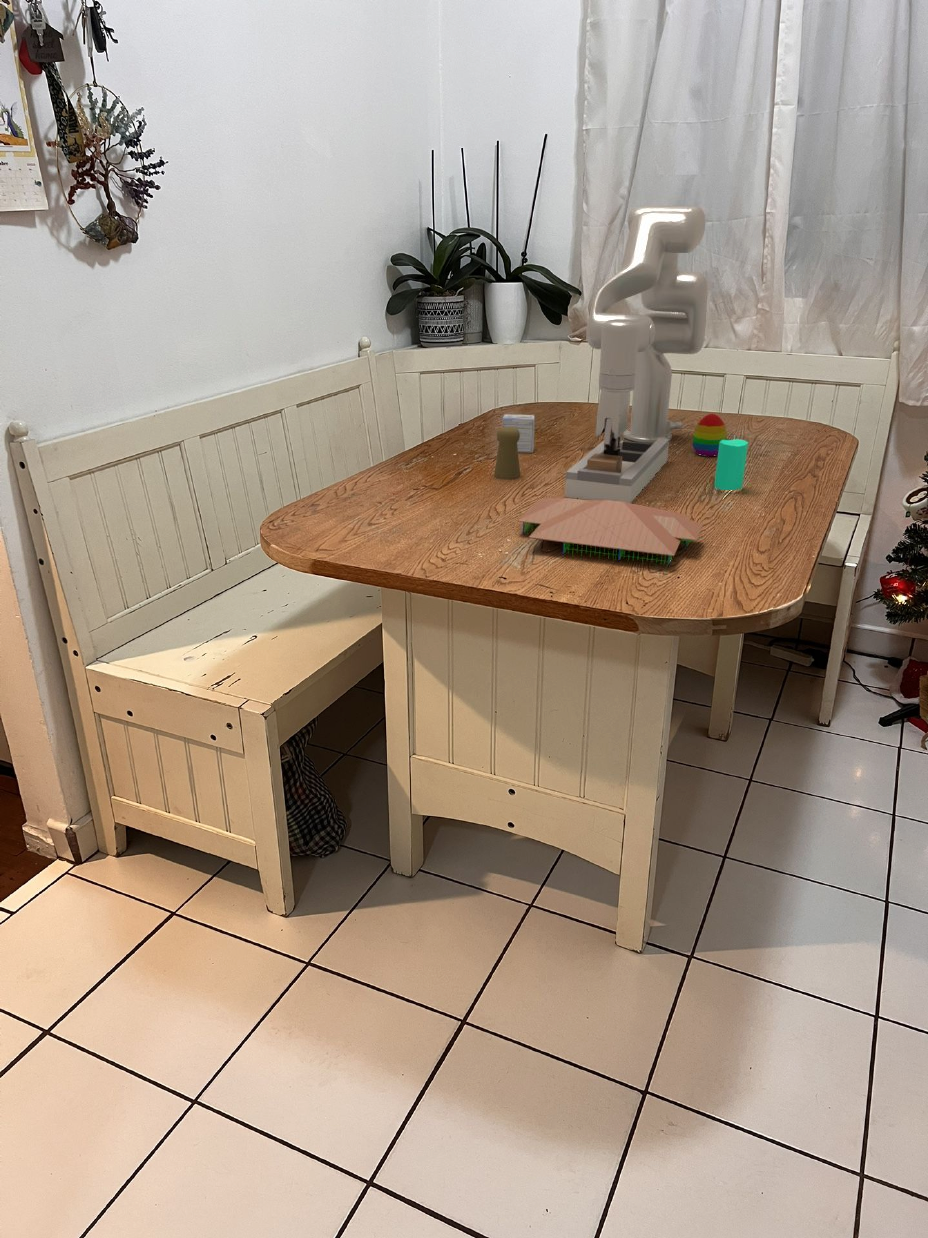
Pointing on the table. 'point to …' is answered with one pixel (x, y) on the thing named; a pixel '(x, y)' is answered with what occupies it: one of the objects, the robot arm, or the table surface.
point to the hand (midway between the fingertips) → (610, 466)
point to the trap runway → (623, 486)
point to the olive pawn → (507, 454)
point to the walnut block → (605, 463)
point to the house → (610, 526)
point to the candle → (731, 464)
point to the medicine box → (522, 430)
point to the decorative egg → (709, 435)
